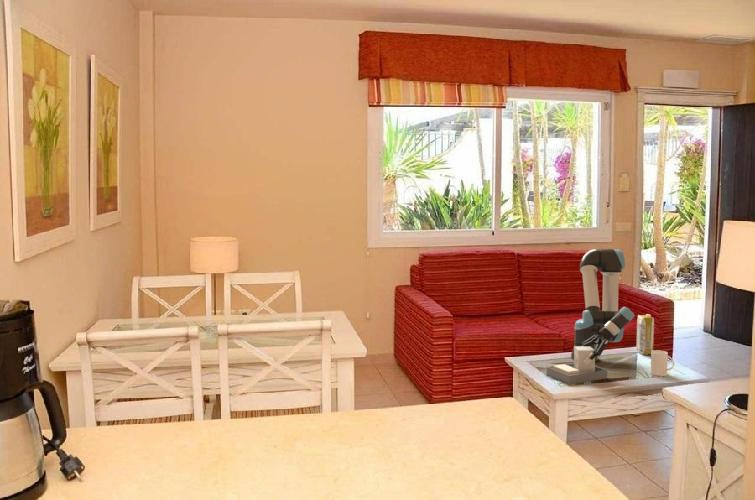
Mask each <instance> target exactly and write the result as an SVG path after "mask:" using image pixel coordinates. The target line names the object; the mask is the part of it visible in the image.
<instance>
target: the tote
mask: <svg viewBox="0 0 755 500" xmlns="http://www.w3.org/2000/svg"><path fill="white" fill-rule="evenodd" d="M564 364H565V365H567V366H570V367H573V368H574V362H571V363H564ZM553 366H554V365H549V366H546V376H548V377H551V378H553V379H556V380H557V381H559V382H563V383H565V384H568V385H573V384H580V383H586V382H593V381H598V380H599V381H600V380H605V379H608V369H605V368H603V367H601V366H597V365H595V371H594V372H588V373H581V374H574V375H568V374H565V373H563V372H560V371H558V370H555V369H553Z"/></svg>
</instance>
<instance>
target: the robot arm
mask: <svg viewBox="0 0 755 500" xmlns="http://www.w3.org/2000/svg"><path fill="white" fill-rule="evenodd" d="M625 268H626V260H625V256H624V252H623V251H622V250H621V249H618V248H617V249H616V248H599V249H598V248H593V249H590V250H588V251H587V252H585V254H584V255H583V256H582V257H581V260H580V263H579V272H580V273H581V274H582V283H583V284H582V286H583V292H584V293H583V297H584V304H585V310H583V311H582V314H581V315H582V318H580V319H578V320H576V321H575V323H574V346H590V347H592V348H593V349H594V351H593V353H594V354H593V353H591V354H590V355H589V356H588V357H587V358H586V359H585V360H584V362H585V363H586V364H587V365H588V364H589V363H590V362H591V361H592V360H593V359H594V358H595V362H596V361H598V360H599V357H600V356H601V355H602V353H603V351H604V350H605V348H606V347H607V345H609V343H618V342H619V343H620V341H621V340H622V339H623V336H624V330H625V329H624V327H626V325H627V324H629V323H630V322H631V321H632V319H634V318H635V314H634V312H633V311H631V310H630V309H629V308H628V307H626V306H623V307H621V308H620V309H619V279H620V278H619V276H620V275H621V273H622V271H623V270H624V269H625ZM598 270H599V271H600V273H601V275H602V306H601V305H600V296H599V286H598V277H597V272H598ZM601 307H602V308H601ZM574 346H573V348H572V351H571V353H570V358H571V357H572V358H573V359H572V358H571V359H572V360H574Z"/></svg>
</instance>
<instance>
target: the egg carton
mask: <svg viewBox="0 0 755 500" xmlns="http://www.w3.org/2000/svg"><path fill="white" fill-rule="evenodd" d="M565 364H566V363H564V364H563V363H561V364H557V365H552V366H553V369H555V370H558V371H560V372H563V373H565V374H568V375H574V374H579V370H578V369H575V368H573V367H570V366H567V365H565Z"/></svg>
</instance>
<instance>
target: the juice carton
mask: <svg viewBox="0 0 755 500" xmlns="http://www.w3.org/2000/svg"><path fill="white" fill-rule="evenodd" d="M636 321H637V322H636V343H635V344H636V346H635V347H636V352H637V353H638V354H640V355H643V356H644V355H645V356H646V355H648V354H651V351H654V335H655V334H654V332H655V319H654V317H652V315H651V314H649V313H646V314H644V315H642V314H641V315H640V314H638V315H637V320H636ZM648 356H649V355H648Z"/></svg>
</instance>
